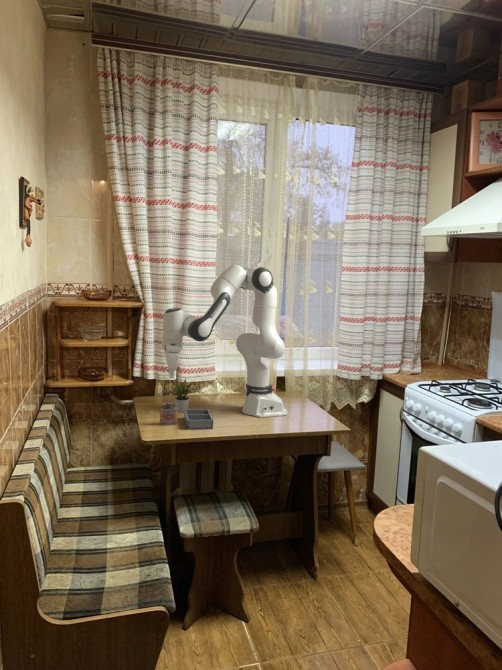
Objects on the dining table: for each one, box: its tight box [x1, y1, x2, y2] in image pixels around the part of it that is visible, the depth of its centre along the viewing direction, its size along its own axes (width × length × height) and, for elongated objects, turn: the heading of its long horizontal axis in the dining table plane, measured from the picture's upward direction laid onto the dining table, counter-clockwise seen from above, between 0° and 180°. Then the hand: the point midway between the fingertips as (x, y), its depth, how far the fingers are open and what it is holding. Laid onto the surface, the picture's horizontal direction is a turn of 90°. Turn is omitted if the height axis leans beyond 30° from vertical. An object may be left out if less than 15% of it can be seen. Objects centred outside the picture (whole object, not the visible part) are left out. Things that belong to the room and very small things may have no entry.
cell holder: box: [183, 408, 214, 431], centre depth 239 cm, size 11×16×4 cm
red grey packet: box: [159, 402, 178, 427], centre depth 236 cm, size 8×3×10 cm, turn 106°
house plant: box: [170, 377, 198, 413], centre depth 254 cm, size 14×14×16 cm
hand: (170, 375), depth 233 cm, fingers open, 8 cm apart
